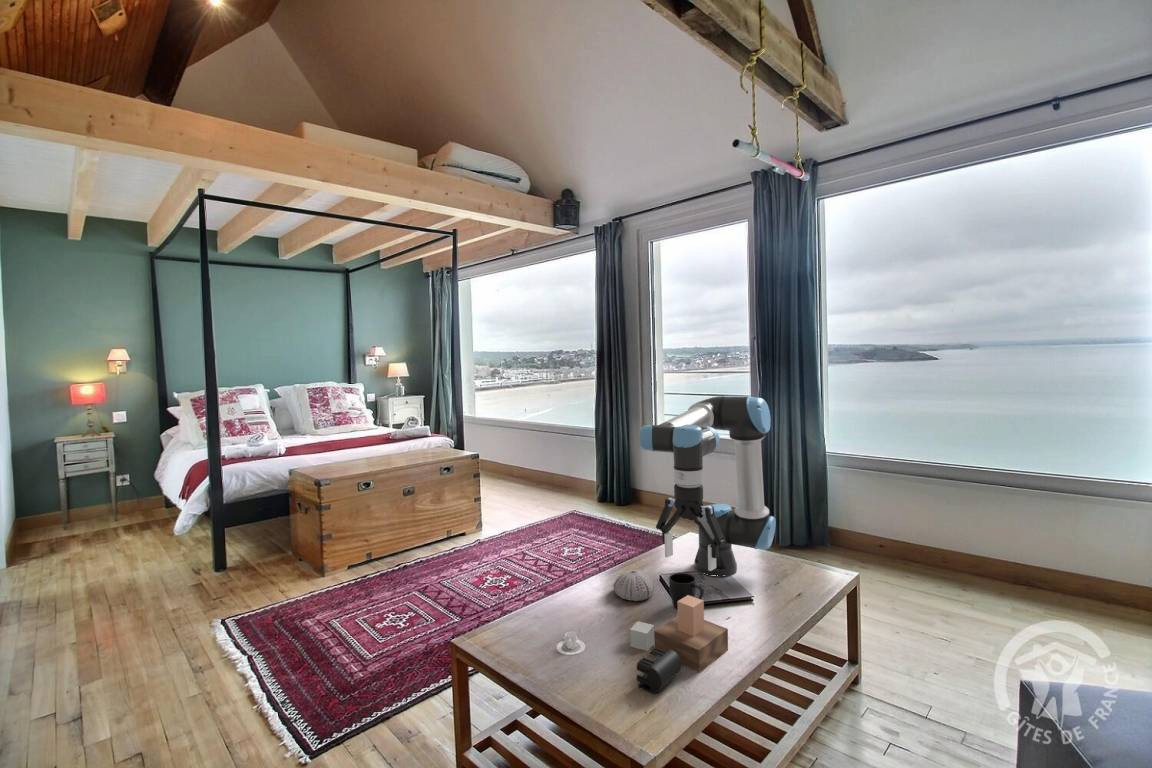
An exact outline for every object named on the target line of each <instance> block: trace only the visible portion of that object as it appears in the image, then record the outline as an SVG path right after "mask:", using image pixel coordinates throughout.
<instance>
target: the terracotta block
mask: <svg viewBox="0 0 1152 768" xmlns="http://www.w3.org/2000/svg"><path fill="white" fill-rule="evenodd" d="M698 598H699V597H698ZM698 598H697V597H696V596H695V597H692V596H689V595H687V596H686V597H684V598H682V599H681V600H679V601H677V607H678V610H677V616H678V630H679V631H681V632H684V633H686V634H689V635H691V636H693V637H694V636H695V635H697V634H698V633H700V632H701V631H703V630H704V620H705V603H704V601H705V600H704V599H698Z"/></svg>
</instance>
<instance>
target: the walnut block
mask: <svg viewBox="0 0 1152 768" xmlns="http://www.w3.org/2000/svg"><path fill="white" fill-rule="evenodd" d="M728 629H729V628H727V627H724V626H721V625H718V624H717V623H714V622H711V621H709V620H706V619H704V630H703V631H701V632H700V633H698V634H697V635H695V636H694V637H693V636H691V635H689V634H686V633H684V632H681V631H679V630H678V615H677V616H676V617H674V618H672V619H670V620H669V621H668V622H666V623H665V624H663V625H661V626H660V627H658V628H657V629H654V648H658V649H661V650H663V651H666V652H667V651H668V650H669V649H672V650H673V651H675V652H676V653H677V654H678V656H679V657H680V660H681V666H684V667H685V668H688V669H690V670H692V671H694V672H696V673H701V672H703V671H704V670H705V669H707V667H709V666H710V665H711V664H712V663H714V662H715V661H716V660H718V659H719V658H720V657H721V656H722V655H724V654H726V653H727V652H728V651H729V635H728V634H729V633H728V632H729V630H728Z"/></svg>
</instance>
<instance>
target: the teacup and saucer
mask: <svg viewBox="0 0 1152 768" xmlns="http://www.w3.org/2000/svg"><path fill="white" fill-rule="evenodd" d="M564 644H565V645H566V648H567V649H569V650H574V649H575V648H576V646H577V644H578V645H579V646H580V648H579V649H578V650H576V651H573V652H567V651H564V650H563V649H562V647H563V645H564ZM585 648H586V644H585V643H584V641H582V640H581V639H578V635H577V632H575V631H567V632H565V634H564V640H561V641H560V642H558V643H557V644H556V650H557V652H559V653H560V654H562V655H566V656H572V655H573V656H574V655H578V654H580V653H582V652H583V651H584V650H585Z"/></svg>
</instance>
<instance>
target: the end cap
mask: <svg viewBox="0 0 1152 768" xmlns="http://www.w3.org/2000/svg"><path fill="white" fill-rule="evenodd" d="M649 654H650V655H652V656H655V657H656V658H655V659H649V658H647V657H642V658H641V659H640V660H638V661H637V663H636V671H638V672H641V673H643V675H640V674H637V675H636V681H637V682H638V684H637V687H638V688H639V689H641V688H642V689H641V690H644V691H646V692H648V693H650V694H656V693H657V692H660V691H661V690H662V689H663V687H665V686H666V685H667V684H668V683H669V682H670V681H671V680H672V678H674V677H675V675H677V673H679V672H680V671H681V668H682V665H681V660H680V657H679V656H678V654H677V653H676V652H675V651H673V650H672V649H669V650H668V651H667V652H666V651H663V650H661V649H658V648H655V647H654V648H653V649H651V650H650V651H649Z"/></svg>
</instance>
